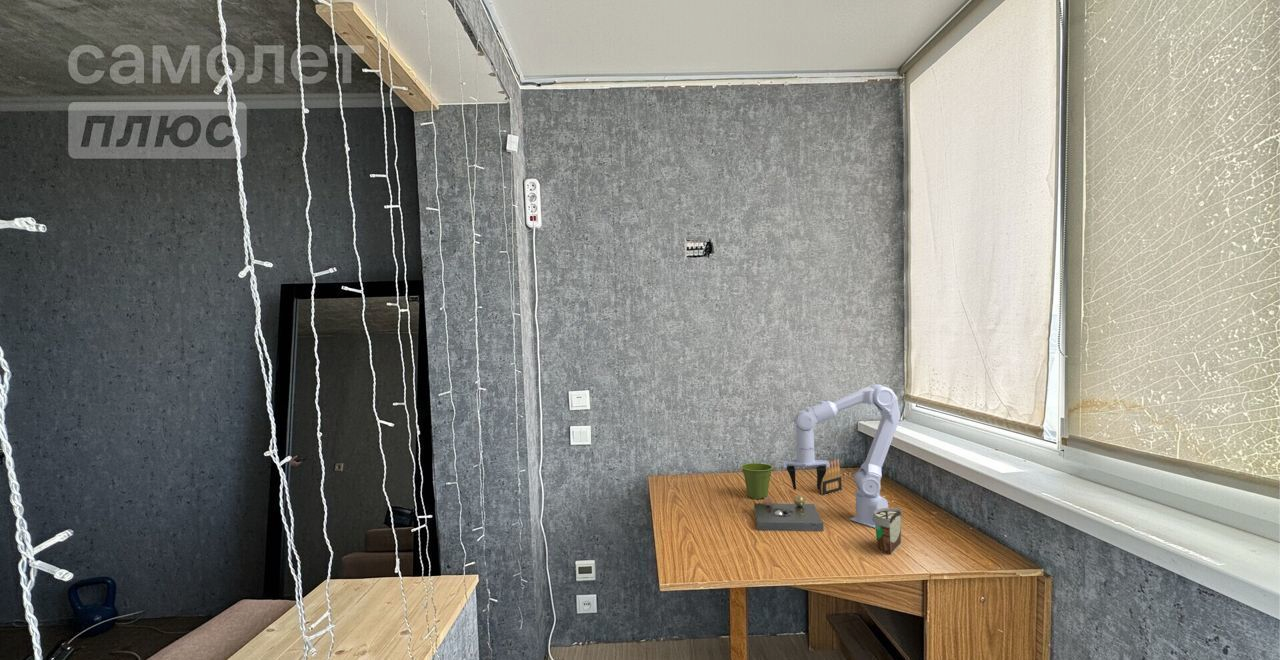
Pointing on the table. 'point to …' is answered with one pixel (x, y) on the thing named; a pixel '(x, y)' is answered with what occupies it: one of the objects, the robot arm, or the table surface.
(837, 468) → the ammunition clip
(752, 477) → the plant pot
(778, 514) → the steel ball
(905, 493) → the table surface
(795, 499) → the brass ball
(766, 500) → the terracotta ball
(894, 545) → the food container
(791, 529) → the hole plate
